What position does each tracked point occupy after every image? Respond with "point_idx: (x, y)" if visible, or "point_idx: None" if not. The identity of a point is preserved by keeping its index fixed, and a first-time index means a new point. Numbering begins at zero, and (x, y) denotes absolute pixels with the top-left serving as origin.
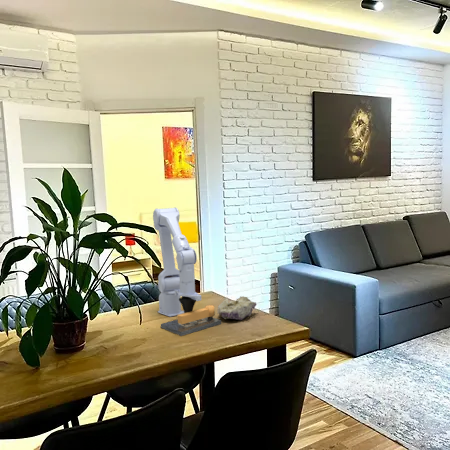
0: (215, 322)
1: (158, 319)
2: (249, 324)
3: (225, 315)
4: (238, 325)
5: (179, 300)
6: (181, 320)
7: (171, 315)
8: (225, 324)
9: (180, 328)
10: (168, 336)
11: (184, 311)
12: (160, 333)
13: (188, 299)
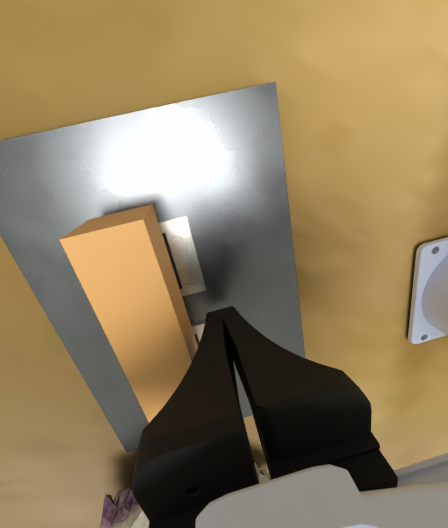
0: (111, 421)
1: (438, 161)
2: (63, 515)
3: (126, 496)
4: (69, 482)
5: (326, 374)
6: (81, 226)
7: (421, 258)
8: (114, 443)
9: (60, 188)
10: (7, 43)
11: (236, 322)
12: (126, 12)
13: (164, 505)
